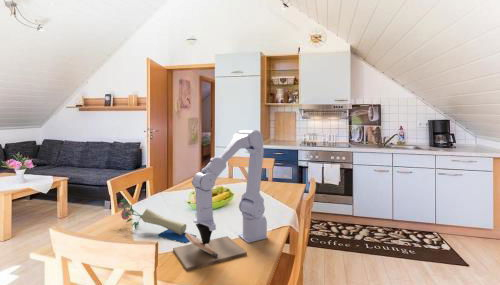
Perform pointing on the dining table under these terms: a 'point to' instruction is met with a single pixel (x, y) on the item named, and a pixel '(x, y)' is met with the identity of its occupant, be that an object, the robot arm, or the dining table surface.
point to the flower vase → (153, 219)
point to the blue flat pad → (174, 236)
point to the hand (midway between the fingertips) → (206, 243)
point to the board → (199, 258)
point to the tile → (199, 243)
